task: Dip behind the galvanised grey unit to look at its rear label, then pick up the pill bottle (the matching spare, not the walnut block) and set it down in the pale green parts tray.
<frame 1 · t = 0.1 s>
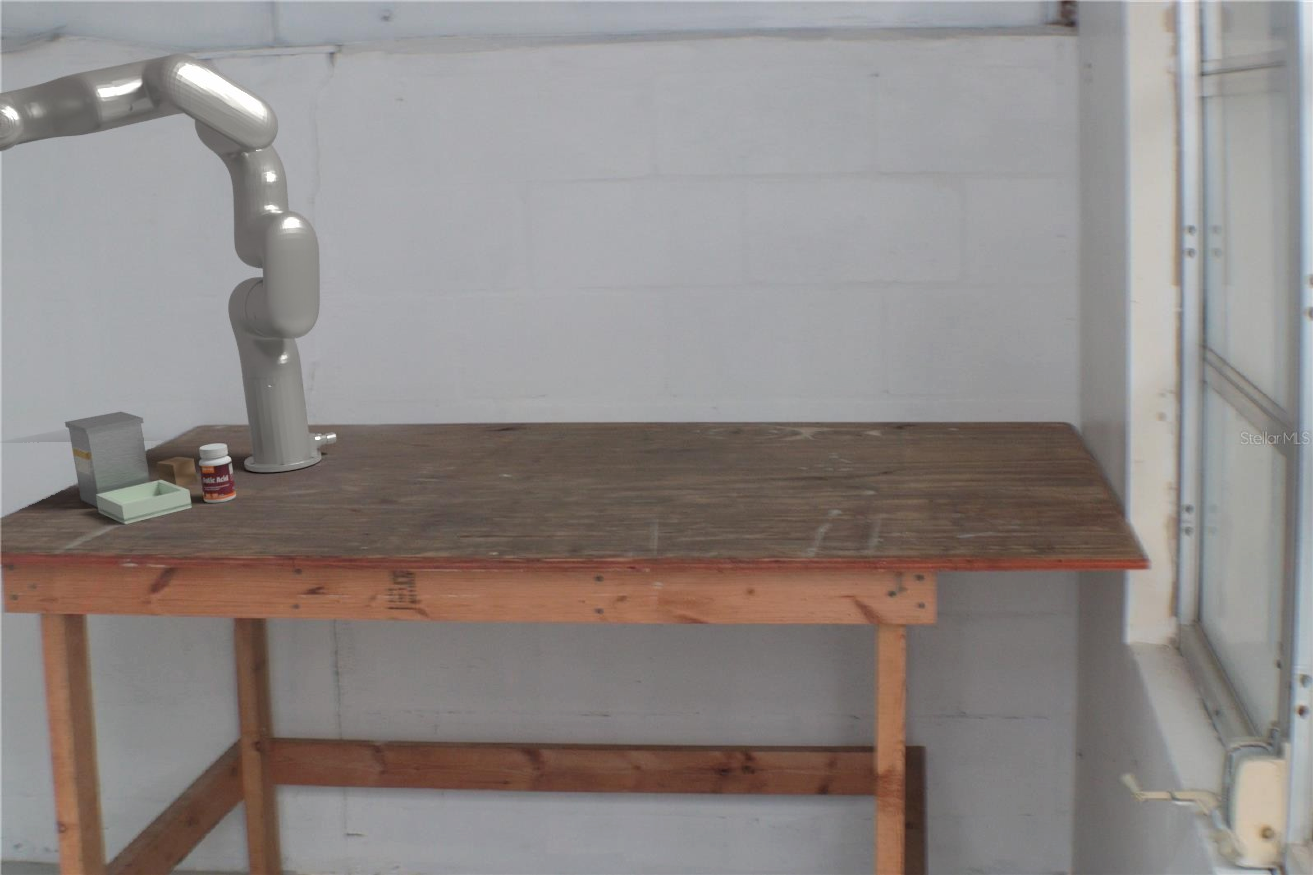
tray: (145, 510, 183), on the workbench
unit: (116, 498, 191), on the workbench
walnut block: (178, 484, 197), on the workbench
pill bottle: (220, 500, 187), on the workbench
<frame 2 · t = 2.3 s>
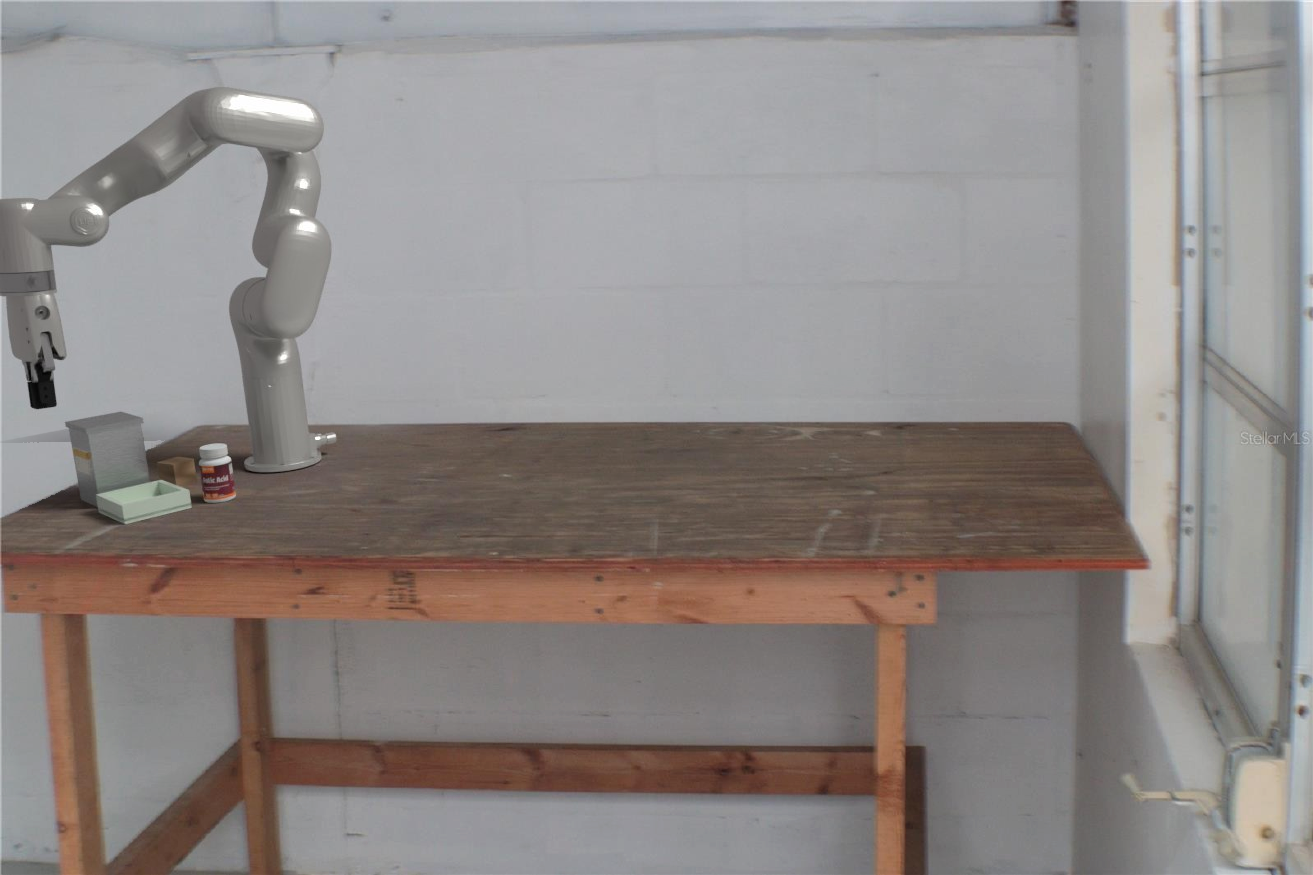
hand: (43, 407, 181), 16 cm above the workbench, fingers closed
nothing on the workbench moved.
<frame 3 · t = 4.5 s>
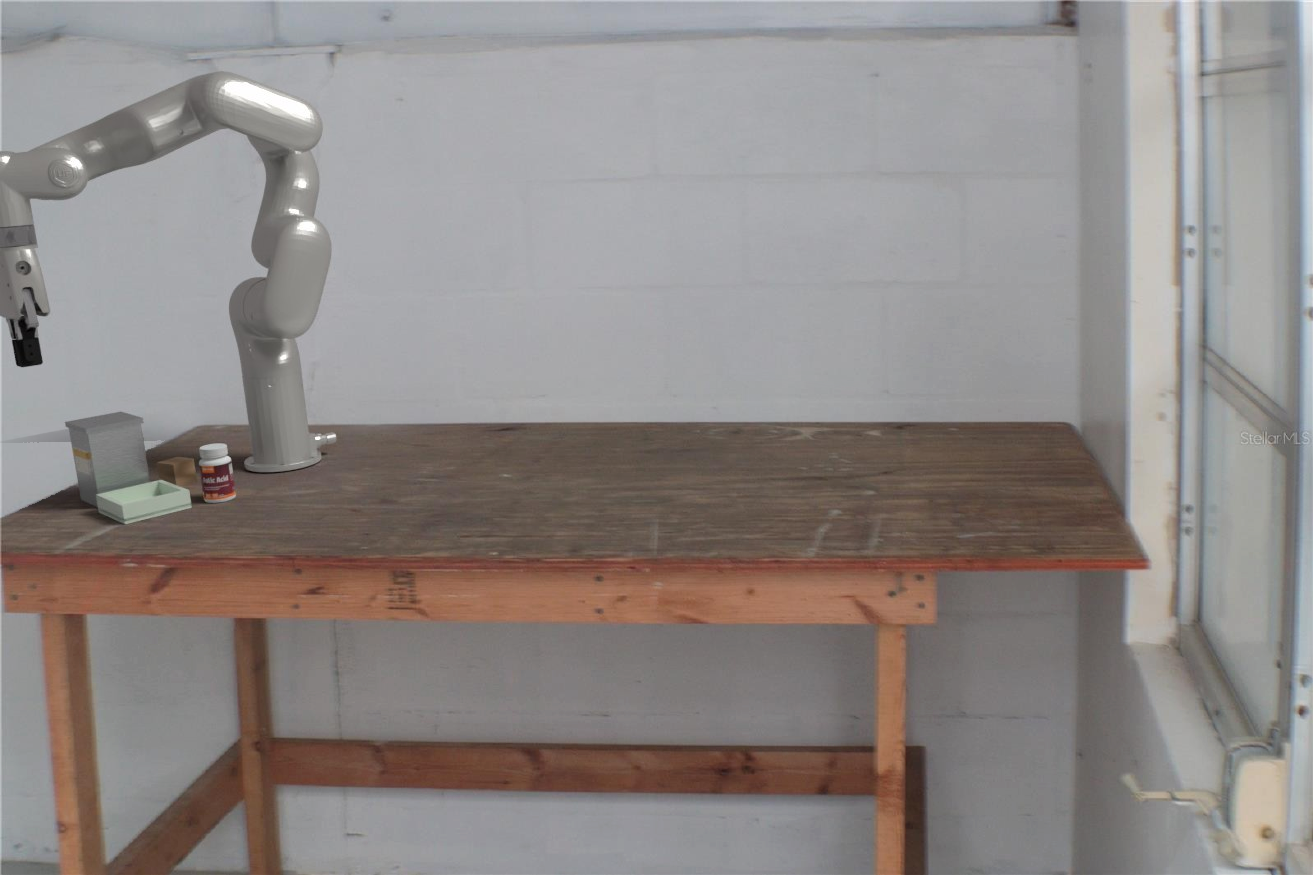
hand: (29, 365, 179), 23 cm above the workbench, fingers closed
nothing on the workbench moved.
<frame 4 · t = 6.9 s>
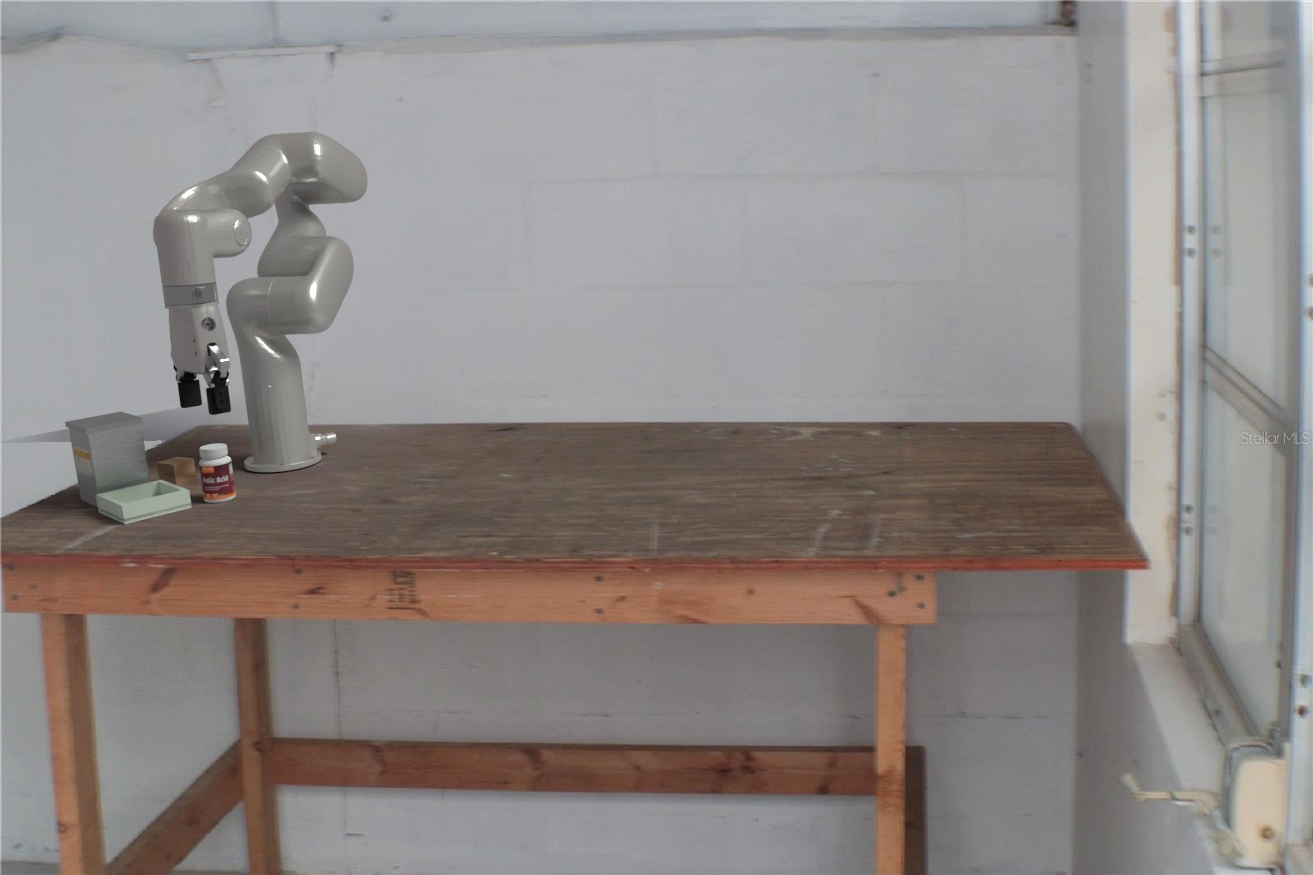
hand: (205, 409, 183), 14 cm above the workbench, fingers open, 9 cm apart
nothing on the workbench moved.
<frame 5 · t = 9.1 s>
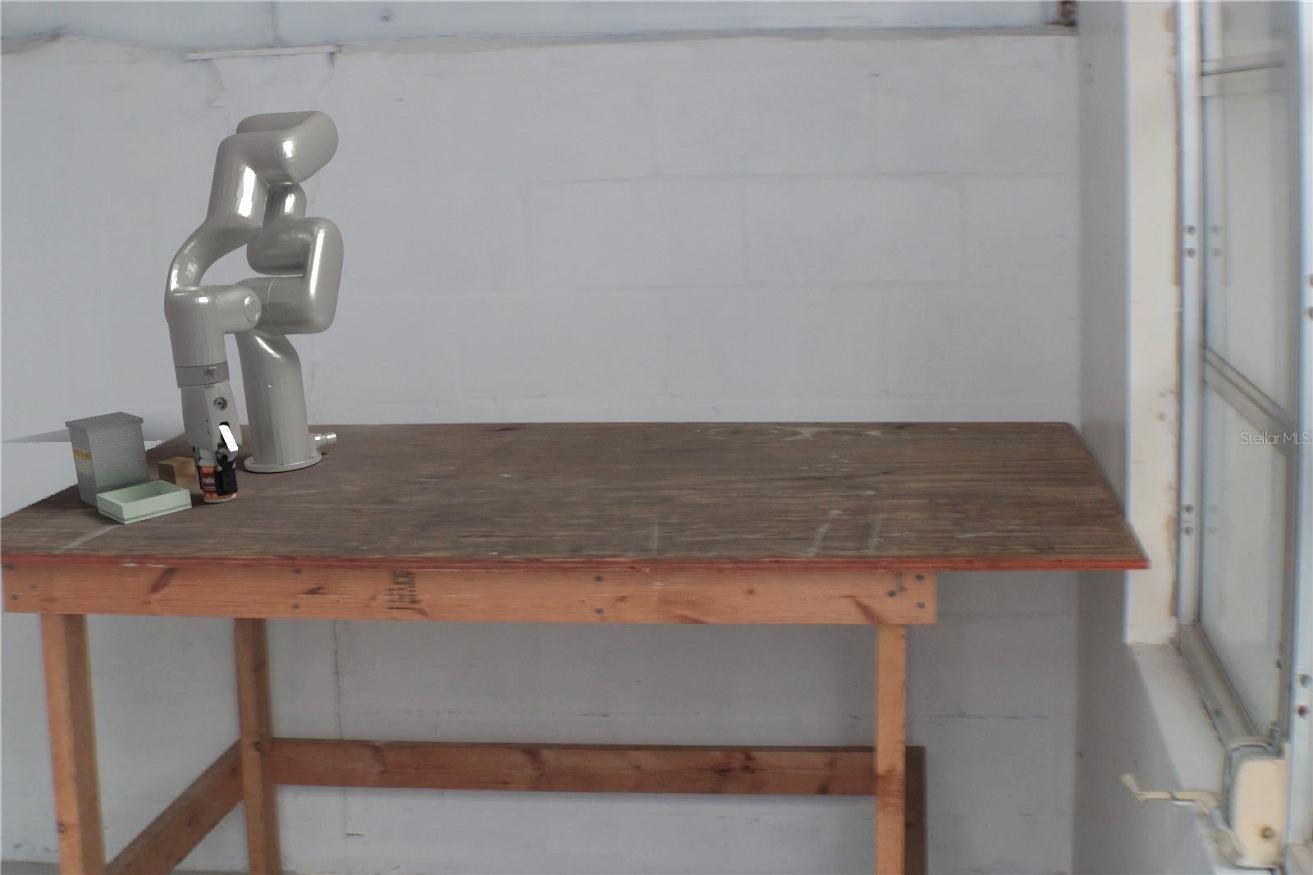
hand: (219, 490, 186), 1 cm above the workbench, fingers closed on pill bottle, 4 cm apart
pill bottle: (220, 500, 187), on the workbench, touching gripper
everything else where it was.
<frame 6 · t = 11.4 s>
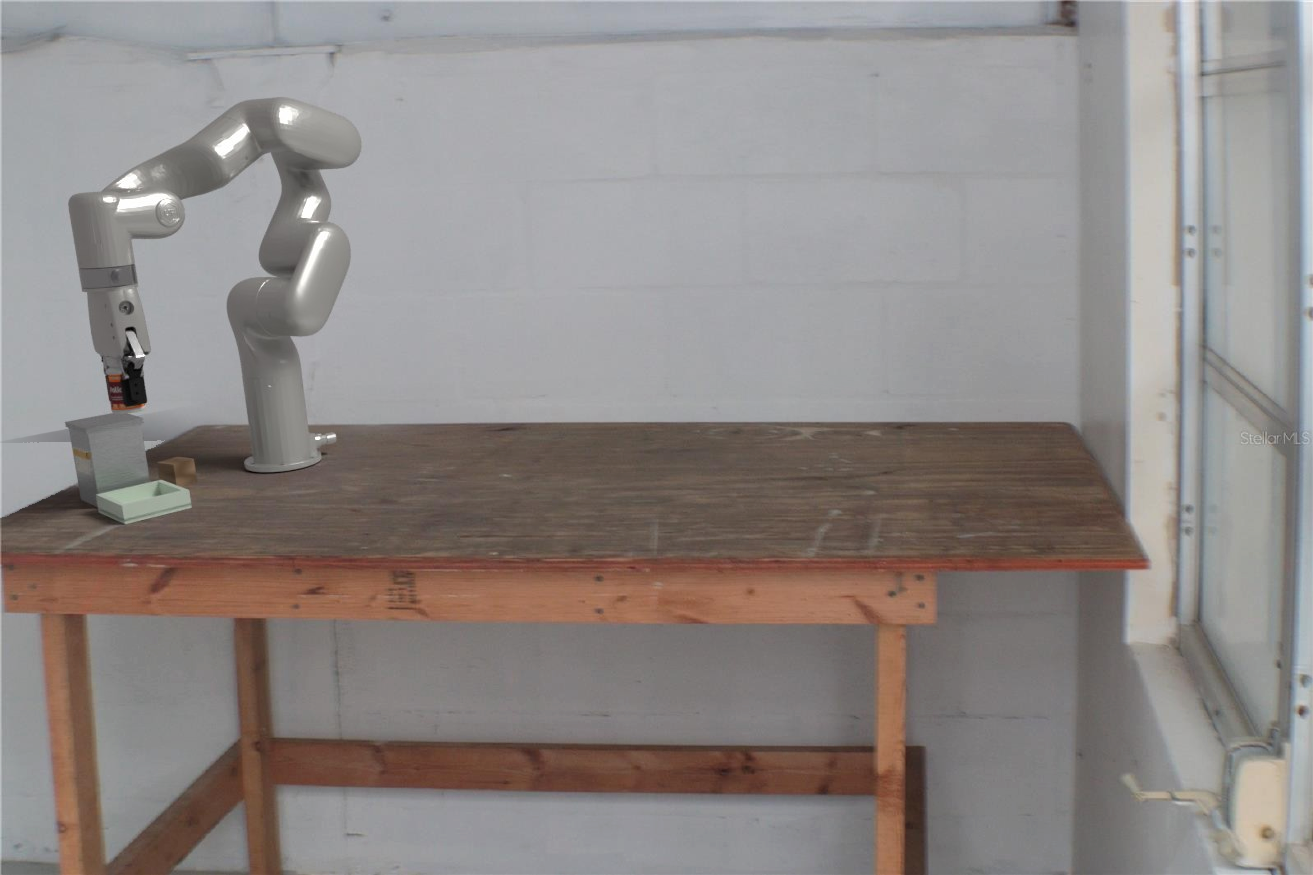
hand: (128, 401, 179), 17 cm above the workbench, fingers closed on pill bottle, 4 cm apart
pill bottle: (129, 412, 179), point 15 cm above the workbench, touching gripper
everything else where it was.
when the fingers open (4 cm above the workbench, at t = 14.0 s): pill bottle drops 1 cm, resting on tray.
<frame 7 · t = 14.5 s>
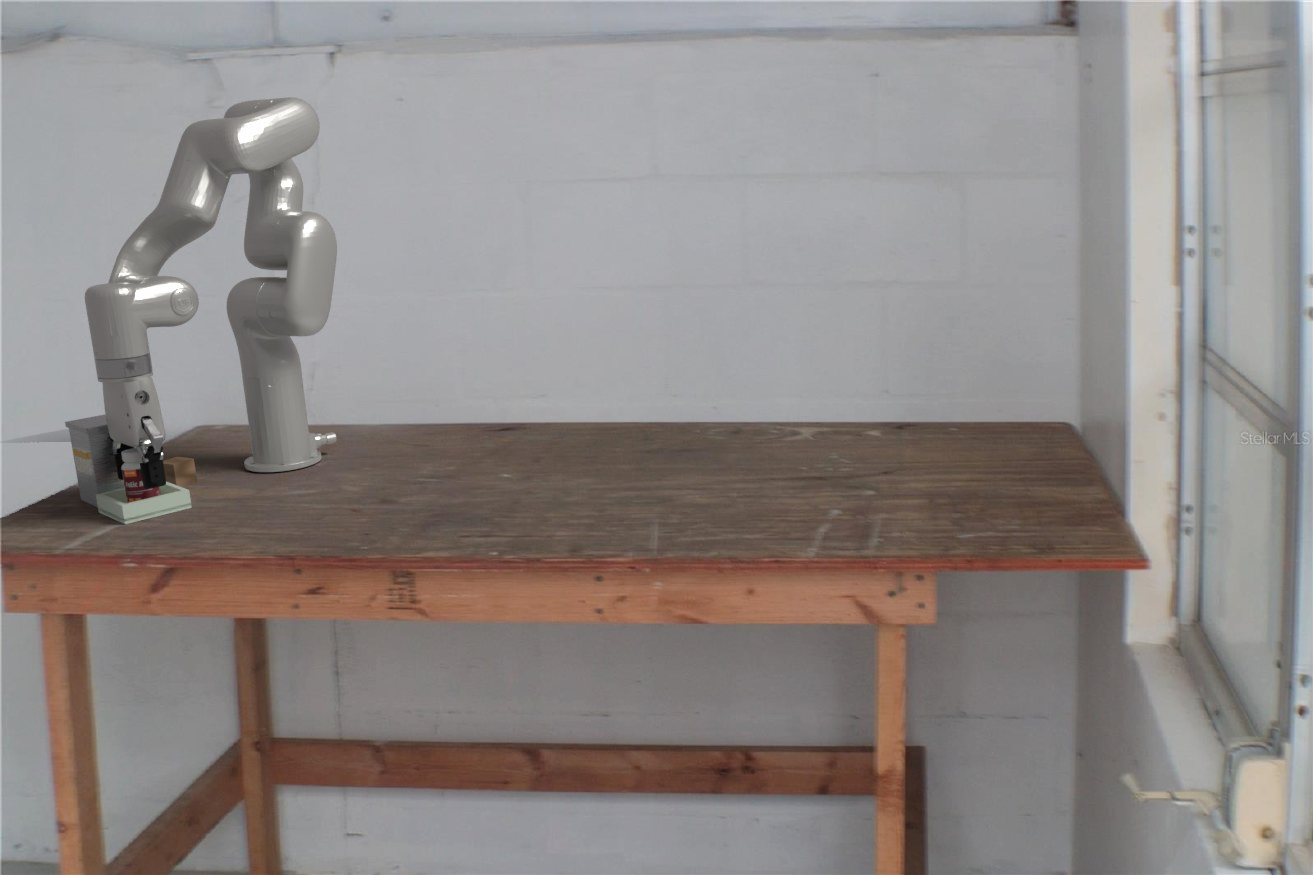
hand: (142, 482, 182), 4 cm above the workbench, fingers open, 8 cm apart
pill bottle: (145, 505, 183), point 1 cm above the workbench, touching tray
everything else where it was.
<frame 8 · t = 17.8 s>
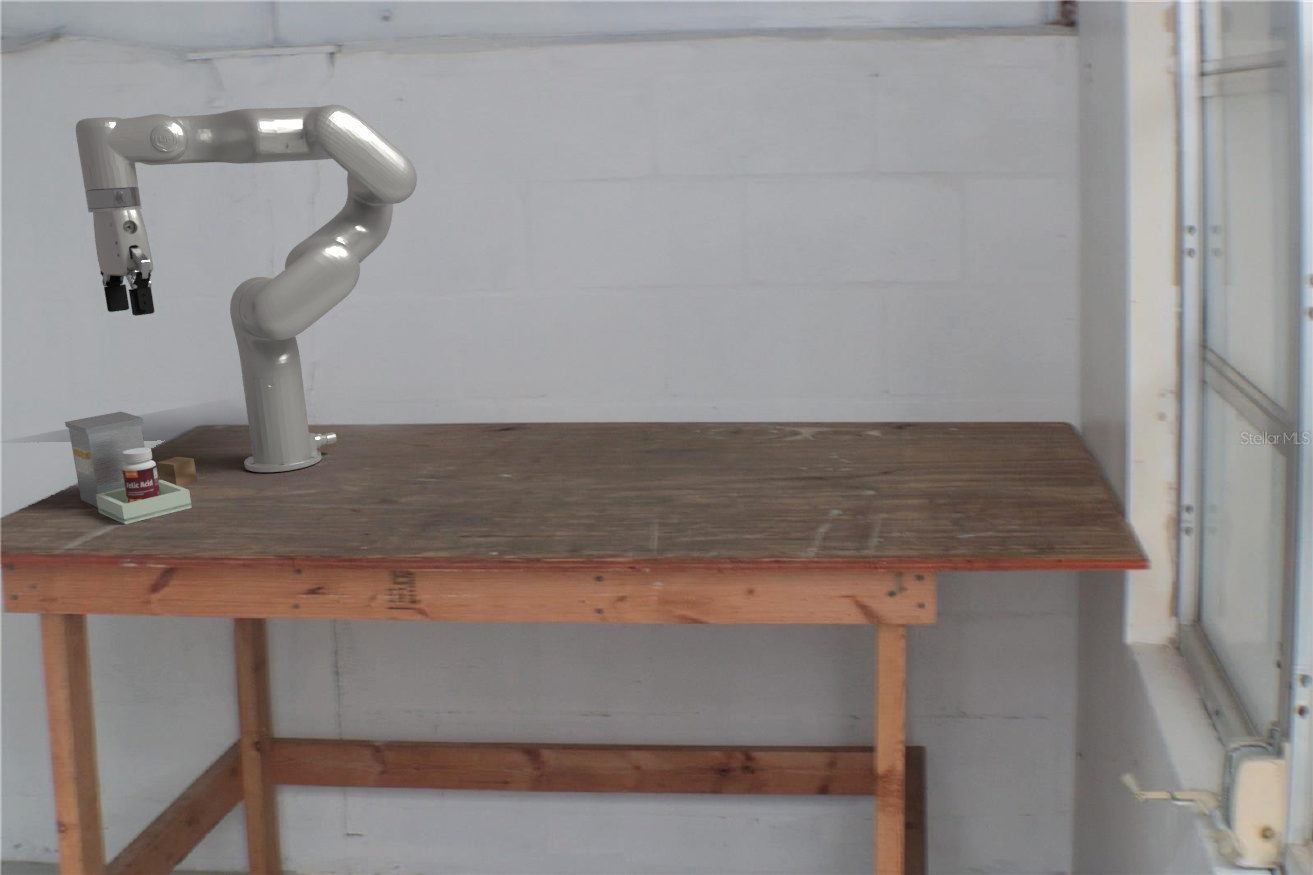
hand: (131, 312, 189), 28 cm above the workbench, fingers open, 9 cm apart
nothing on the workbench moved.
at the end: pill bottle inside the target area on the tray (0.1 cm from its centre), point 0.6 cm above the tray's base; pill bottle tilted 1°; the gripper is holding nothing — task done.
